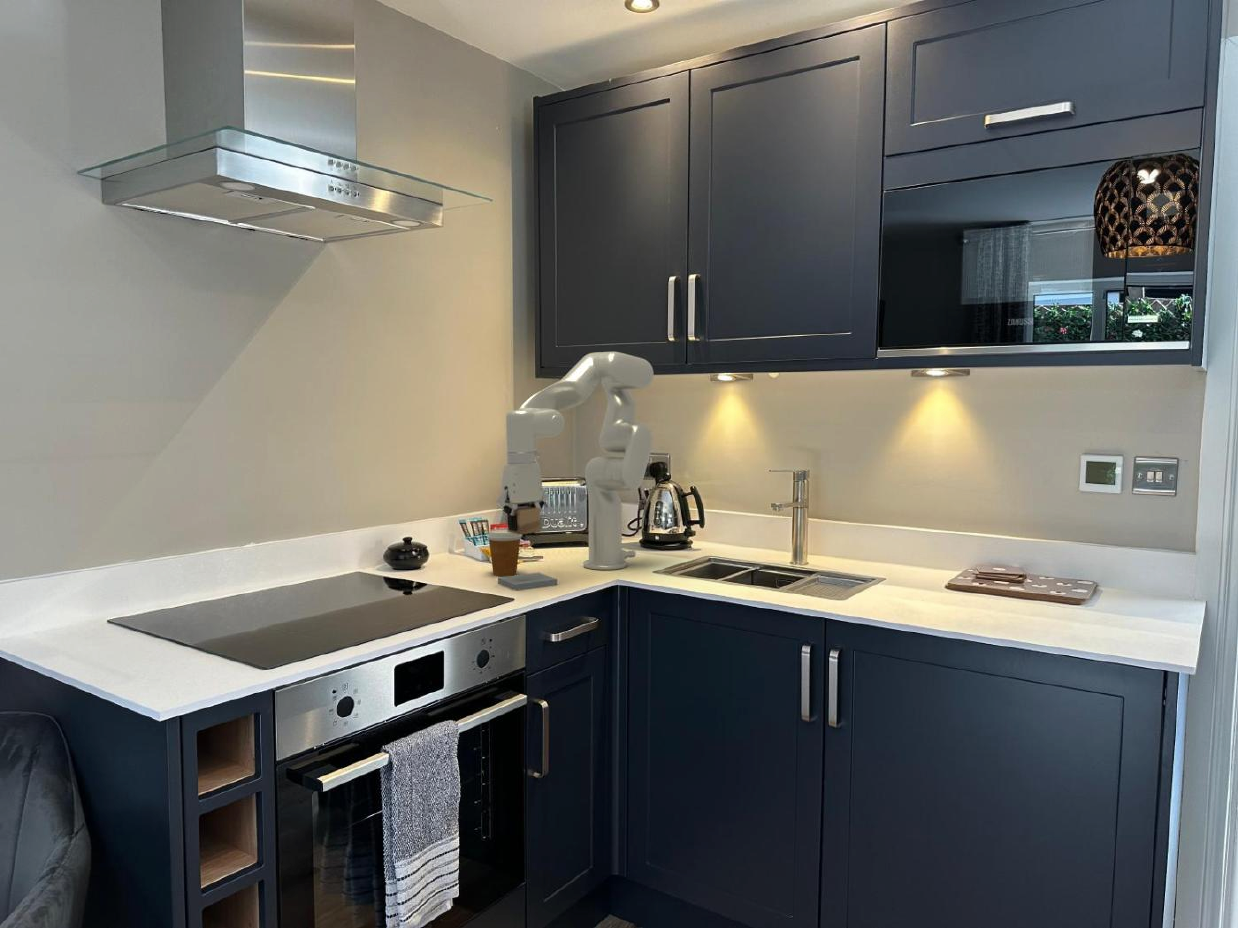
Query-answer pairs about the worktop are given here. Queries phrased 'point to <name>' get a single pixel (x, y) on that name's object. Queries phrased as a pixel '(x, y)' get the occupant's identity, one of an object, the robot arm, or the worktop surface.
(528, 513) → the walnut cube
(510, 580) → the slate board
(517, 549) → the disposable coffee cup
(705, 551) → the worktop surface
